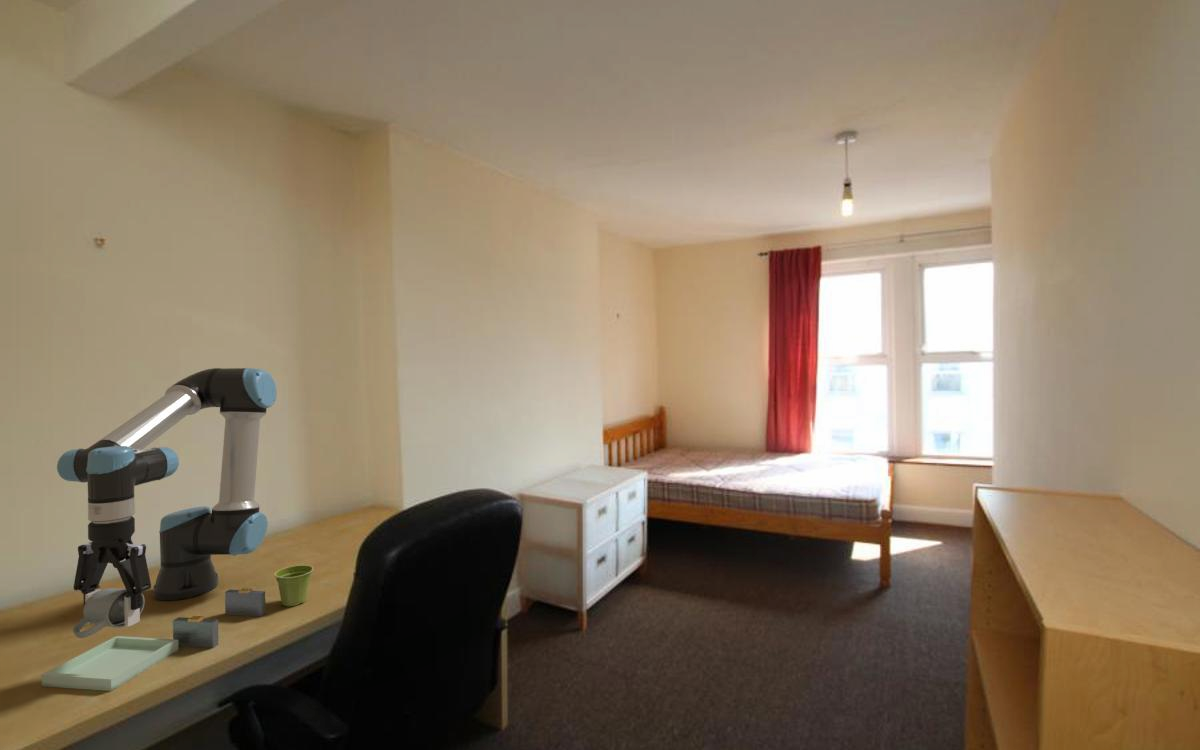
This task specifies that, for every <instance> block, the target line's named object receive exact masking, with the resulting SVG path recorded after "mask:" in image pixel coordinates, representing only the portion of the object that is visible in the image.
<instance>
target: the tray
mask: <svg viewBox="0 0 1200 750" xmlns="http://www.w3.org/2000/svg"><path fill="white" fill-rule="evenodd" d="M177 651H179V646H178V640H174V639H173V638H172V639H171V638H155V637H141V636H140V637H139V636H137V637H136V636H119V635H116V636H114V637H111V638H110V639H108V640H105V642H102V643H101V644H98V645H96V646H94V647H93V648H91V649H89V650H86V651H85V652H82V653H81V654H79V655H77V656H75V657H74V658H73V657H72V658H71V659H70V660H67V661H66V662H63V663H61V664H60V665H58V666H55V667H54V668H52V669H50V670H48V671H46V672H44V673H42V674H41V686H42V687H46V688H47V687H49V688H65V689H77V690H79V689H80V690H93V691H107V692H112V691H115V689H117V688H119V687H120V686H122V685H124V684H125V683H127V682H128V681H130V680H132V679H133V678H135V677H137V676H138V675H140V674H142V673H144V672H145V671H146V670H148V669H150V668H151V667H153V666H155V665H157V664H158V663H160V662H161V661H163V660H164V659H166V658H167V657H169V656H171V655H172V654H174V653H176V652H177Z"/></svg>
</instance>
